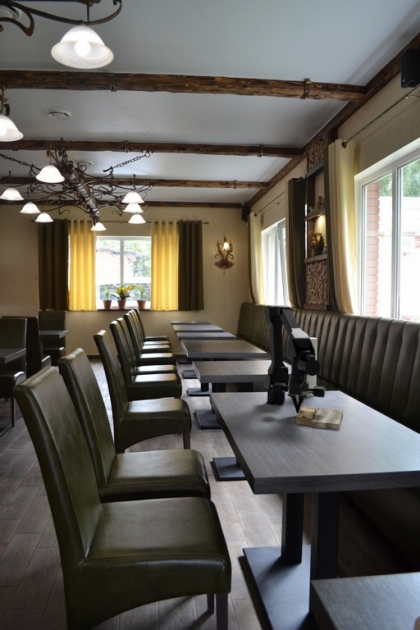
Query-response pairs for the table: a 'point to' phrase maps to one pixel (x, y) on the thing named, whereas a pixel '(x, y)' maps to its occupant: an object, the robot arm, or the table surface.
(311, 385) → the cylindrical container
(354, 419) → the table surface
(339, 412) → the floor board
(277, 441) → the table surface
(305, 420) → the plank
